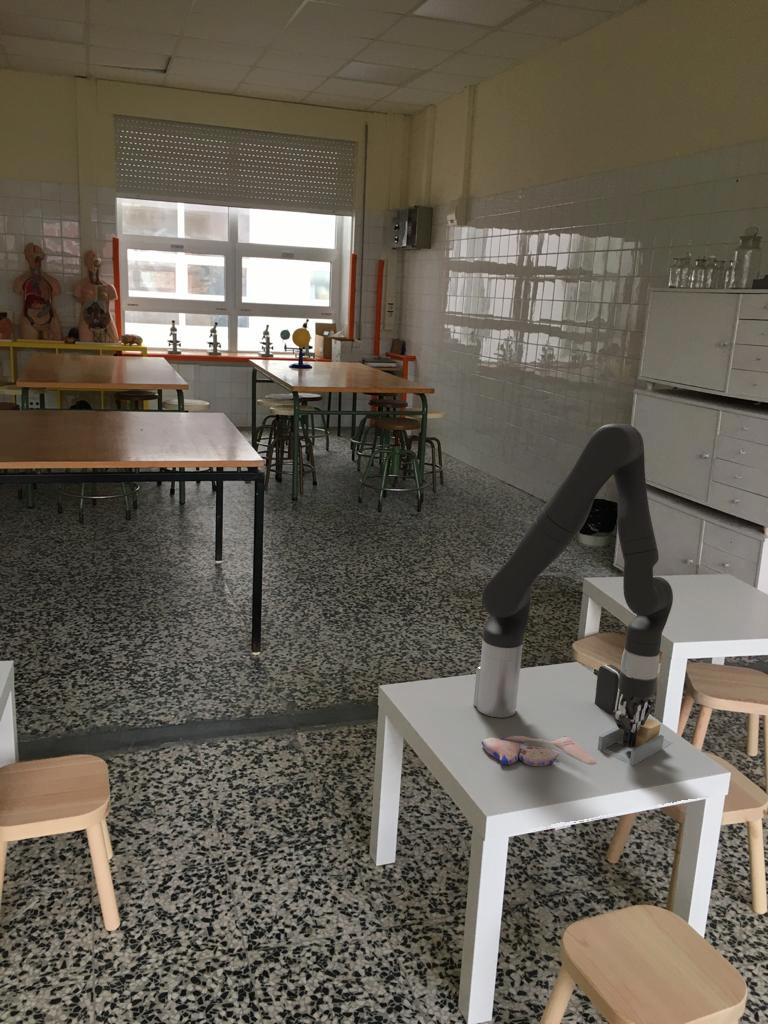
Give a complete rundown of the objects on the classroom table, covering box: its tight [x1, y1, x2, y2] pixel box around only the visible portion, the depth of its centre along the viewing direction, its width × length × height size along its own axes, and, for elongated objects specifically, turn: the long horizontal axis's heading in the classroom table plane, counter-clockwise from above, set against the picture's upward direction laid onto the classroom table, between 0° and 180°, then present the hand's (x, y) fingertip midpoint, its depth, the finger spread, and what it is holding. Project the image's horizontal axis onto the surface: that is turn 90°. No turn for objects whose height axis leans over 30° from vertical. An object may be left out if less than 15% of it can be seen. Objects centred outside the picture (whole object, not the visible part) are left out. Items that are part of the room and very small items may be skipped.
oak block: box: [635, 717, 661, 747], centre depth 184 cm, size 5×5×5 cm
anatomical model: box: [481, 735, 598, 767], centre depth 178 cm, size 20×3×15 cm
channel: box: [597, 726, 673, 766], centre depth 183 cm, size 9×16×4 cm, turn 132°
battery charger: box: [594, 664, 623, 716], centre depth 200 cm, size 7×4×11 cm, turn 25°
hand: (628, 745), depth 181 cm, fingers closed
